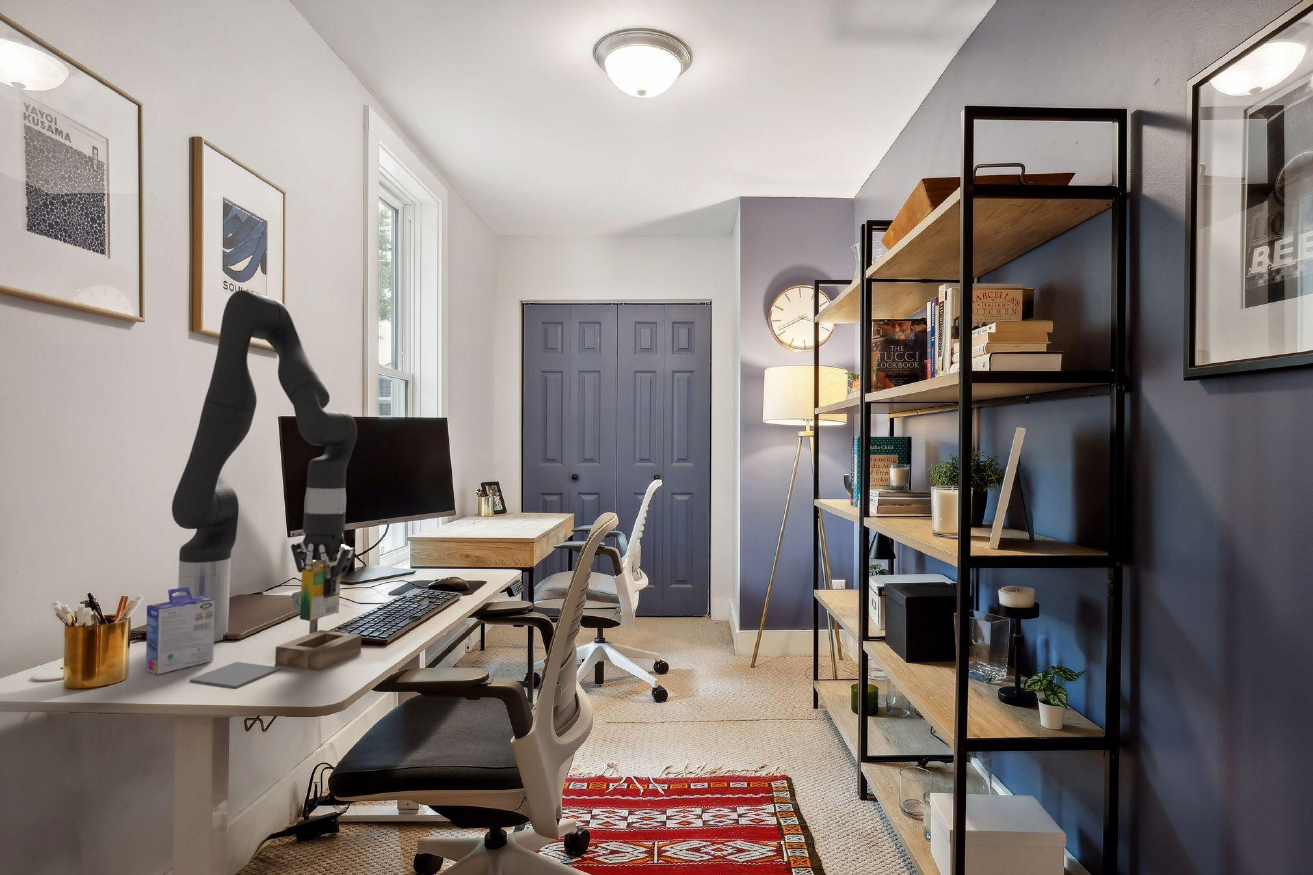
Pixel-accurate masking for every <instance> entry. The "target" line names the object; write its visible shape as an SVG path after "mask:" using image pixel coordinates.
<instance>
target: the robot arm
mask: <svg viewBox="0 0 1313 875" xmlns="http://www.w3.org/2000/svg"><path fill="white" fill-rule="evenodd" d="M222 314H223V315H222V319H221V324H220V325H221V326H220V331H219V332H220V333H219V339H218V344H217V345H218V347H217V353H216V356H215V357H216V358H215V361H214V366H213V369H212V370H213V371H212V375H211V378H210V382H209V385H208V389H207V392H206V395H205V399H204V401H203V404H202V410H201V412H200V418H199V423H198V426H197V430H196V434H195V437H194V441H193V444H192V447H191V451H190V454H189V456H188V459H187V463H186V464H185V468H184V470H183V472H182V474H181V477H180V480H179V482H178V485H177V488H176V489H175V490H176V491H175V492H174V495H173V498H172V503H171V504H172V505H171V514H172V515H171V516H172V518H173V521H174V522H175V524H177V526H179V527H180V528H183V529H184V530H196V531H195V534H194V535H193V537H191V539H190V540H189V541H187V542H186V543H185V544H183V545H182V546H181V547H180V549H179V553H178V554H179V555H178V557H179V558H178V561H179V562H178V580H177V582H178V583H177V584H178V585H177V589H178V588H185V587H189V590H190V593H191V596H192V597H198V596H206V597H209V598H212V599H215V615H214V643H215V642H219V641H223V640H224V639H223V634H225V633H226V632H229V610H230V609H229V608H230V591H231V590H230V586H231V585H230V584H231V565H232V564H231V560H232V559H231V558H232V550H233V547H234V546H235V544H236V541H237V540H236V539H237V531H238V521H239V506H240V504H239V499H238V496H237V493H236V491H235V490H234V489H233V487H231V486H230V485H228V484H224V483H218V482H219V481H218V480H219V477H220V475H221V472H222V469H223V467H224V466H225V465H226V462H227V461H228V460H229V458H230V457H231V456H232V455H233V453H234V452H235V451H236V450H237V449H238V447H240V445H241V443H243V441H244V440H245V438H246V436H247V435H248V433H249V432H250V429H251V426H252V424H253V423H252V422H253V420H254V416H255V412H256V408H257V402H258V401H257V391H256V389H255V385H254V383H253V379H252V376H251V373H250V370H249V365H248V355H249V348H250V344H251V339H252V338H254V339H258V340H265V341H267V343H268V345H269V344H270V346H271V347H272V348H273V349H274V351H275V352H276V354H277V357H278V366H277V367H278V368H277V377H278V381H279V384H280V386H281V388H282V390H283V391H284V393H285V395H286V396H287V398H288V400H289V401H290V403H291V405H293V408H294V415H295V418H296V423H297V428H298V432H299V434H300V435H301V437H302V438H303V439H304V440H305V441H306V442H307V443H309V444H310V445H312V446H319V447H320V446H321V447H322V446H324V447H326V448H325V450H324V453H323V455H321V456H319V457H315V458H312V459H311V460H310V461H309V462H308V466H307V476H306V477H307V480H306V490H305V491H306V492H305V496H304V505H303V506H304V507H303V508H304V509H303V510H304V511H303V523H302V524H303V527H302V528H303V529H302V532H303V533H304V534H305V535H304V537H303V540H302V541H301V542H297V543H293V544H291V545H290V549H291V552H292V556H293V559H294V563H295V566H296V569H297V572H298V573H302V570H306V569H311V568H313V562H317V561H322V564H321V566H322V567H324V570H325V577H326V579H324V597H331V596H333V595H334V593H335V592H336V580H337V577H338V576H340V577H341V576H343V575H346V574H347V572H348V570H349V567H350V566H351V562H352V561H353V558H354V556H355V553H356V548H355V547H349V546H347V545H345V542H344V538H343V535H344V532H345V531H346V530H345V528H346V511H347V510H346V509H347V508H346V507H347V494H346V493H347V492H346V484H347V468H348V464H349V462H350V460H351V456H352V452H353V450H354V448H355V444H356V443H357V436H358V426H357V423H356V420H355V419H354V417H353V416H352V415H351V414H349V413H348V412H344V411H332V410H324V409H325V408H326V407H327V405H328V404H329V402H330V393H329V391H328V389H327V388H326V386H325V384H323V382H322V380H321V378H320V377H319V375H318V374H317V372H316V370H315V369H314V368H313V365H312V364H311V361H310V360H309V358H308V356H307V354H306V352H305V349H304V347H303V344H302V341H301V338H300V336H299V333H298V331H297V328H296V326H295V323H294V321H293V318H292V316H291V314H290V312H289V310H288V308H287V307H286V305H285V304H284V303H283V302H281V301H280V300H278V299H275V298H272V297H270V296H266V295H263V294H260V293H256V292H253V291H250V290H246V289H240V290H236V291H235V292H234V293H232V294H231V295H230V297H229V298H228V300H227V301H226V304H225V307H224V310H223V313H222ZM339 557H340V558H339ZM330 560H333V561H332V562H329V561H330ZM331 569H332V571H331ZM182 595H187V593H186V592H177V593H176V594H175V595H173V597H176V596H182Z"/></svg>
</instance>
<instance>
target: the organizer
mask: <svg viewBox="0 0 1313 875" xmlns="http://www.w3.org/2000/svg"><path fill="white" fill-rule="evenodd" d="M361 650H362V634H358V633H349V632H341V631H340V632H339V631H332V630H331V631H330V630H323V629H320V630H317V631H316V632H313V633H311V634H305V635H303V636H300V637H298V638H296V639H293V640H290V641H287V642H284V643H281V644H280V645H279V644H278V645H276V646H275V659H274V665H275V666H284V667H288V668H289V667H290V668H299V669H305V670H312V669H313V670H314V671H322V670H324V669H325V668H328V667H331V666H332V665H334V664H337V663H339V662H341V661H344V660H346V659H348V658H350V657H353V656H354V655H356V654H359V653H360V652H361ZM321 669H322V670H321Z"/></svg>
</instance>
